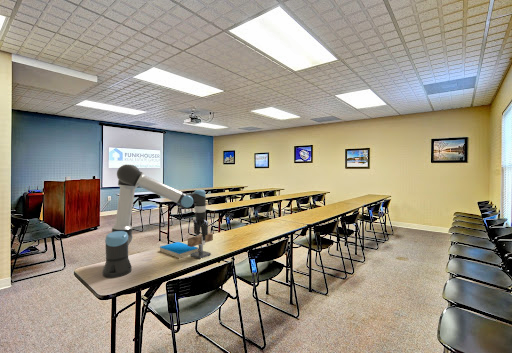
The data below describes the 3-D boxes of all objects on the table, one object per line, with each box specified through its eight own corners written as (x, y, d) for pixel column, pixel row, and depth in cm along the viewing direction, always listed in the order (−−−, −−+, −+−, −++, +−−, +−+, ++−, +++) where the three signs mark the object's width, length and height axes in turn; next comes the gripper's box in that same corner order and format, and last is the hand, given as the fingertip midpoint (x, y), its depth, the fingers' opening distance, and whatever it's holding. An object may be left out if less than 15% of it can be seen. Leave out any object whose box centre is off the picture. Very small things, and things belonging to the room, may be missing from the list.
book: (179, 253, 173) (159, 246, 188) (179, 259, 173) (159, 252, 188) (199, 247, 186) (178, 241, 202) (199, 253, 187) (178, 246, 202)
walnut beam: (191, 247, 169) (191, 239, 169) (187, 245, 171) (187, 238, 171) (212, 240, 185) (212, 233, 185) (209, 239, 188) (209, 232, 187)
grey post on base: (200, 259, 172) (200, 245, 171) (190, 256, 177) (190, 243, 177) (210, 254, 180) (210, 242, 179) (201, 252, 185) (201, 240, 185)
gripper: (212, 212, 176) (213, 245, 177) (196, 209, 186) (197, 241, 187) (204, 213, 170) (205, 247, 170) (188, 211, 180) (188, 243, 180)
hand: (201, 244), depth 178 cm, fingers closed on walnut beam, 4 cm apart
